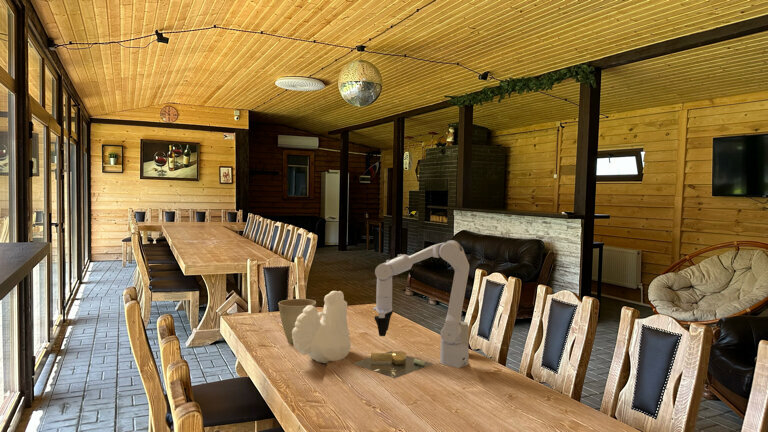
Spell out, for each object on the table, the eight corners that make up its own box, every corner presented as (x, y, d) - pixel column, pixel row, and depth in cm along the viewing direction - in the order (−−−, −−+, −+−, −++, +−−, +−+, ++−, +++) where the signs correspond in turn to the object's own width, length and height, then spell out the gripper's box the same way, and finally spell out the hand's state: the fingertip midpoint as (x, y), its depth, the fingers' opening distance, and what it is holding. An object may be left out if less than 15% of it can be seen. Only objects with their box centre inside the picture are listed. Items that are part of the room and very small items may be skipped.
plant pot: (319, 337, 215) (319, 299, 214) (310, 347, 200) (311, 307, 199) (284, 335, 216) (284, 297, 215) (273, 345, 201) (273, 305, 201)
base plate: (433, 368, 179) (433, 359, 179) (394, 382, 164) (394, 373, 164) (391, 355, 193) (391, 346, 192) (351, 367, 178) (351, 358, 178)
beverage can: (448, 354, 194) (449, 323, 193) (454, 350, 200) (455, 319, 199) (465, 357, 191) (465, 325, 190) (470, 353, 197) (471, 322, 196)
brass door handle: (405, 360, 182) (405, 351, 182) (406, 364, 177) (406, 355, 177) (371, 359, 181) (371, 350, 181) (370, 364, 176) (371, 355, 176)
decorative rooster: (335, 349, 198) (336, 285, 197) (359, 360, 186) (361, 292, 185) (276, 362, 183) (277, 292, 181) (298, 374, 170) (299, 300, 169)
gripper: (375, 291, 195) (375, 327, 195) (370, 299, 180) (369, 338, 181) (394, 292, 194) (393, 328, 194) (390, 300, 179) (389, 339, 180)
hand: (383, 333), depth 188 cm, fingers open, 7 cm apart
